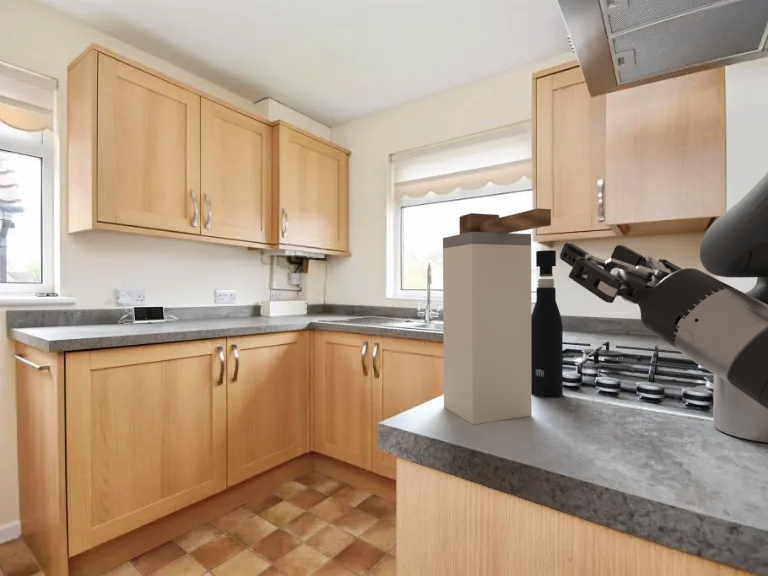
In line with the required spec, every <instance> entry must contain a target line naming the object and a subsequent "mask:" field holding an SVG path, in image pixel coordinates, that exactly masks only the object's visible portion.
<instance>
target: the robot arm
mask: <svg viewBox="0 0 768 576" xmlns="http://www.w3.org/2000/svg"><path fill="white" fill-rule="evenodd" d="M559 258H560V260H561V261H563V262H564V263H566V264H567V265H569V266H570V267H572V268H571V269H570V272H569V274H568V279H569V278H570V279H571V280H572V281H574V282H575V283H576V284H578V285H579V286H581V287H583V288H584V289H585V290H587V291H589V292H590V293H592V294H593V295H595V296H596V297H598V298H599V299H600V300H602V301H603V302H606V303H609V304H612V303H613V304H614V302H615V300H616V298H617V297H621V299H622V300H623V301H626V302H629V303H630V304H635V305H638V307H639V312H640V319H641V323H642V325H643V326H644V327H645V328H646V329H648V330H649V331H650V332H651V333H653V334H655V335H656V336H657V337H659V338H660V339H661V340H663V341H664V342H666V343H668V345H670V346H671V347H673V348H674V349H676V350H677V351H679V352H680V353H681V354H683V355H684V356H686V357H687V358H688V359H690V360H691V361H692V362H695V364H697V365H698V366H700V367H702V368H703V369H705V370H706V371H708V372H709V373H712V374H713V404H712V405H713V407H712V408H713V410H712V411H713V412H712V413H713V414H712V415H713V417H712V418H713V419H712V421H713V424H712V425H713V427H714V428H715V429H717V430H718V431H720V432H722V433H725V434H728V435H731V436H733V437H737V438H741V439H746V440H747V441H748V440H749V441H753V442H754V441H755V442H761V443H768V171H767V172H766V173H765V175H764V176H763V177H762V178H760V180H759V181H758V182H757V183H756V184H755V185H754V186H753V187H752V188H751V190H749V192H747V193H746V194H745V195H744V196H743V197H742V198H741V199H740V200H739V201H737V203H736V204H734V205H733V206H732V207H730V208H729V209H728V210H727V211H726V212H724V213H723V214H722V215H720V216H719V217H718V218H717V219H716V220H715V221H714V222H713V223H712V224H711V225H710V226H709V228H708V229H707V230H706V232H705V234H704V236H703V238H702V240H701V243H700V248H699V258H700V262H701V264H702V266H703V268H704V270H706V271H707V272H709V274H708V273H705V272H703V271H702V270H699V269H696V268H691V267H689V268H688V267H687V268H681V267H680V266H677V264H675V263H673V262H670V261H669V260H667V259H665V258H659V259H658V260H656V258H653V257H652V256H646V255H645V256H644V255H641V254H640V253H638V252H636V251H634V250H633V249H631V248H629V247H627V246H625V245H623V244H621V245H619V244H618V245H616V246H615V247H614V249H613V252H612V253H611V256H610V258H608V259H602V258H599V257H597V256H594V255H593V254H590V253H589V252H588V251H586V250H584V249H583V248H580V247H579V246H577V245H576V244H574V243H572V242H565V243H564V245H563V247H562V249H561V251H560V254H559ZM614 269H618V271H617V273H616V274H615V273H611V272H612V270H614ZM710 274H712V275H713V276H716V277H723V278H731V279H733V278H739V279H741V278H742V279H743V278H757V279H756V283H755V285H754V286H753V288H751V289H749V290H748V291H746V292H743V291H741V290H739V289H737V288H735V287H733V286H731V285H729V284H727V283H725V282H724V281H721V280H720V279H717V278H715V277H713V276H712V275H710Z"/></svg>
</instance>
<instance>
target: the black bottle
mask: <svg viewBox="0 0 768 576" xmlns="http://www.w3.org/2000/svg"><path fill="white" fill-rule="evenodd" d="M535 263H536V264H535V267H539V275H538V276H539V277H543V278H538V279H537V287H536V297H535V298H536V301H535V304H534V307H533V309H532V311H531V395H534V396H537V397H542V398H549V399H550V398H551V399H552V398H554V399H555V398H560V397H562V396H563V393H564V392H563V389H564V387H563V386H564V385H563V384H564V380H563V373H564V371H563V369H564V368H563V364H564V363H563V361H564V359H563V358H564V357H563V356H564V355H563V351H564V350H563V349H564V348H563V347H564V346H563V345H564V344H563V339H564V338H563V337H564V336H563V334H564V333H563V332H564V331H563V329H564V328H563V327H564V326H563V321H562V316H561V311H560V309H559V306H558V304H557V302H556V297H557V293H556V291H557V290H556V289H557V288H556V287H554V286H555V280H554V279H555V278H548V277H553V267H557V251H556V250H555V249H554V250H551V249H550V250H548V249H547V250H546V249H545V250H537V251H535ZM545 277H547V278H545Z"/></svg>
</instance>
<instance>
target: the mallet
mask: <svg viewBox="0 0 768 576" xmlns="http://www.w3.org/2000/svg"><path fill="white" fill-rule="evenodd" d="M458 220H459V234H464V233H468V232H491V233H517V232H522V231H528V230H534V229H539V228H544V227H551V226H552V209H551V208H538V207H537V208H532V209H530V210H526V211H521V212H517V213H513V214H508V215H506V216H501V217H500V214H493V213H492V214H491V213H490V214H489V213H476V212H475V213H474V212H473V213H472V212H470V213H468V214H464V215H461V216H459V219H458Z"/></svg>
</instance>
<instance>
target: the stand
mask: <svg viewBox="0 0 768 576" xmlns="http://www.w3.org/2000/svg"><path fill="white" fill-rule="evenodd" d="M442 272H443V273H442V289H443V290H442V293H443V294H442V298H443V299H442V300H443V301H442V302H443V304H442V305H443V308H442V310H443V313H442V315H443V316H442V317H443V319H442V320H443V322H442V323H443V327H442V328H443V329H442V331H443V335H442V336H443V340H442V341H443V408H444V409H446V410H448V411H450V412H451V413H453V414H454V415H456V416H458V417H460V418H461V419H463V420H464V421H467V422H468V423H469V424H471V425H478V424H485V423H492V422H497V421H507V420H511V419H519V418H526V417H531V416H532V410H533V409H532V394H531V316H532V233H517V232H512V233H491V232H468V233H464V234H460V233H459V234H455V235H450V236H446V237H443V238H442Z"/></svg>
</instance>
